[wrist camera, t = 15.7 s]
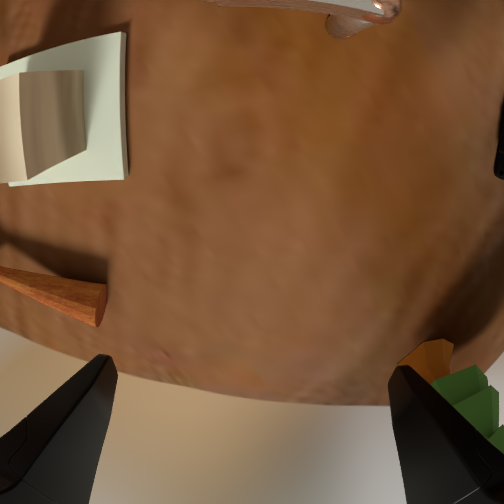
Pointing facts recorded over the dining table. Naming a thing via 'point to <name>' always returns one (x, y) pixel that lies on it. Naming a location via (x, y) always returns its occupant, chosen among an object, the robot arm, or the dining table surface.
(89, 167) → the sage pad
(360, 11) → the steel handle
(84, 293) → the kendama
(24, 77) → the birch block
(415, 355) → the decorative tree
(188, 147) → the dining table surface
